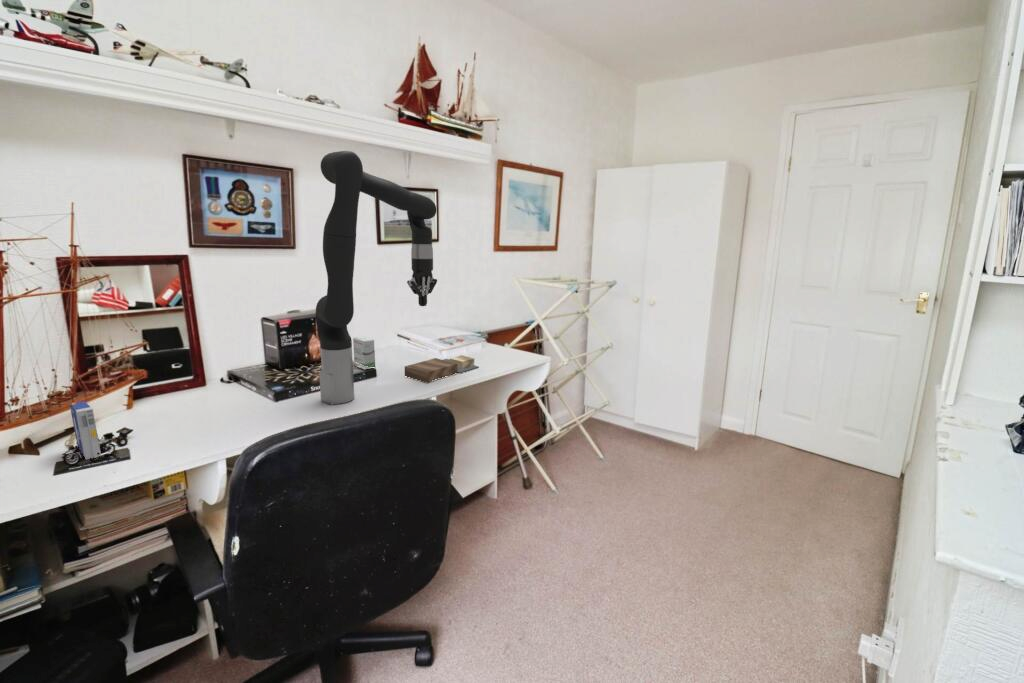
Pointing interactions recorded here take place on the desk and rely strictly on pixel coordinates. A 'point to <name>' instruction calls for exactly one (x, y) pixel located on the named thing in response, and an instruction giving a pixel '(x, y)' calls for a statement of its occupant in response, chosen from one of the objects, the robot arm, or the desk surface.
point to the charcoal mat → (464, 368)
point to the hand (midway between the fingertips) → (422, 305)
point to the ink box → (364, 351)
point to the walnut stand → (431, 369)
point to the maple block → (463, 361)
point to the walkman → (85, 429)
